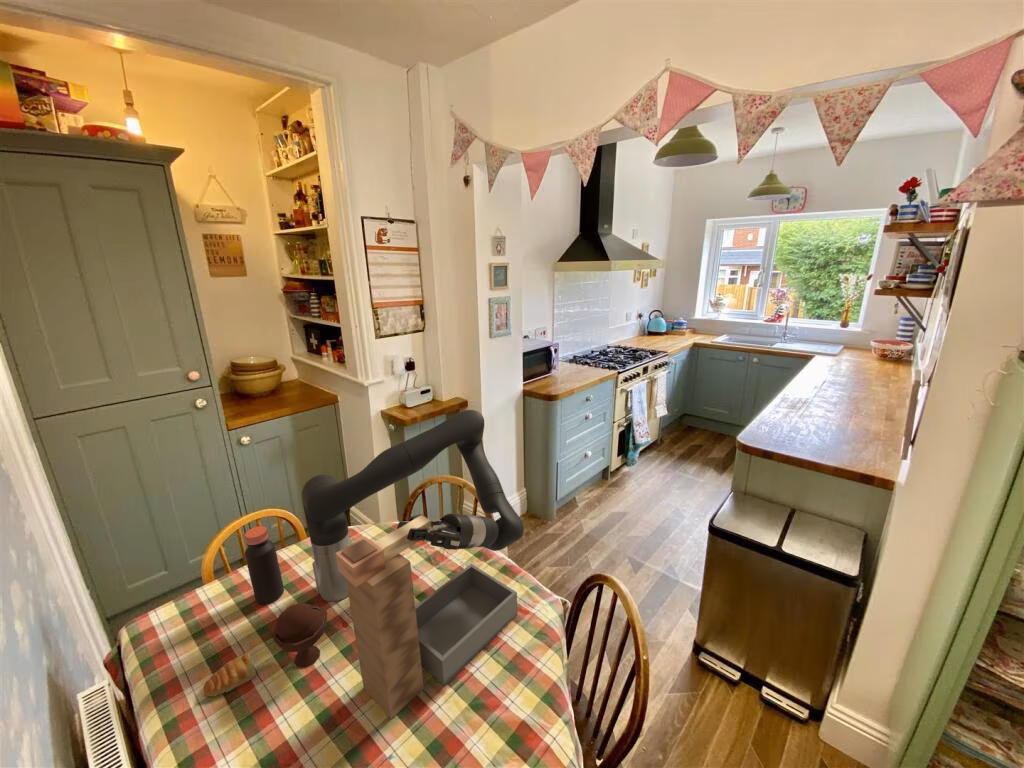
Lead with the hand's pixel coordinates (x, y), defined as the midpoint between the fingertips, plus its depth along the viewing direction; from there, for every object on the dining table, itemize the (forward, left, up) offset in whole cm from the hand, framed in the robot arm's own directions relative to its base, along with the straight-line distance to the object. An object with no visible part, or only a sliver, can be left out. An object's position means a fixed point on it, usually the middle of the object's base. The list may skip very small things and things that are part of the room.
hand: (404, 530), depth 84 cm
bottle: (-49, +4, -35) cm, 61 cm away
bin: (+4, +12, -35) cm, 37 cm away
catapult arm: (-1, -3, -3) cm, 5 cm away
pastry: (-36, -16, -35) cm, 53 cm away
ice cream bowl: (-25, -7, -35) cm, 44 cm away
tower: (-2, -6, -35) cm, 36 cm away
